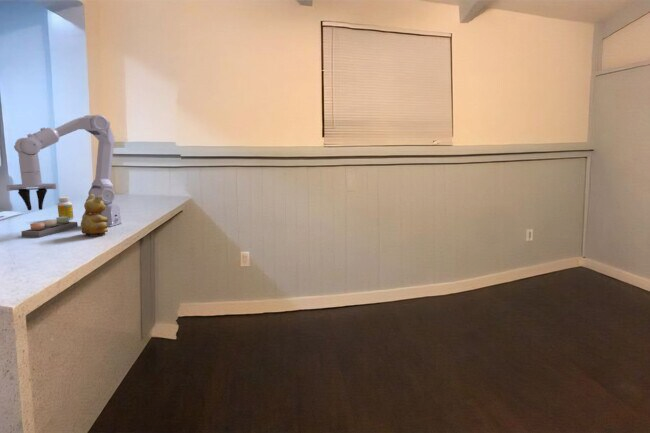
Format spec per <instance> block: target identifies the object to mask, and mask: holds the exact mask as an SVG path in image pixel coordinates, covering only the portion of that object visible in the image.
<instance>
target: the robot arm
mask: <svg viewBox="0 0 650 433" xmlns="http://www.w3.org/2000/svg"><path fill="white" fill-rule="evenodd" d="M39 129H40V130H39V131H37V132H34V133H28V134H26V136H27V137H21V138H18V139H16V141H15V143H14V145H13V148H14V150H15V151H16V152H17V155H18V163H19V164H18V165H19V172H20V179H21V183H20V184H16V183H15V184H6V186H5V188H6V191H7V192H8V191H9V192H10V191H11V192H12V191H17V193H18V195H19V197H21V199H22V200H23V202H24V204H25V207H26V209H27V211H32V204H31V203H32V202H31V195H30V194H31V191H33V190H35V192H36V197H37V203H38V205H37V206H38V211H41V210H43V205H44V201H45V197H46V194H47V192H48V190H57V189H58V184H57V183H55V182H54V183H42V174H41V168H40V160H39V152H40V151H41V150H43V149H46V148H48V147H50V146H52V145H54V144H56V143H58V142H59V140H60V138H61V137H63V136H66V135H68V134H71V133H73V132H75V131H78V130H85V131H86V132H88V133H90V134H91V135H93V137H95V139H97V141H98V146H97V157H96V165H95V166H96V167H95V177H94V178H95V179H93V181H92V183H91V187H90V188H89V191H88V194H87V195H88V196H89V195H91V194H94V196H95V198H96V197H97V196H99V195H101V196H102V198H101V201H103V202H104V205H105V207H106V208H105V210H104V211H103V212H101V213H102V215H103V216H104V217H107V219H108V221H107V228H109V227H114V226H116V225H120V224H123V221H122V218H121V217H122V216H121V208H120V206H119V205H118V204H116V203H113V201H114V200H115V198H116V195H115V191H114V183H112V182H111V176H112V165H113V155H114V144H115V143H114V142H115V136H114V134H113V131H112V128H111V121H109V119H107V117H105V116H104V115H103V114H102V115H101V114H95V115H93V114H92V115H84V116H82V117H81V116H80V117H77V118H75V119H72V120H70V121H69V122H66V123H64V124H61V125H60V126H57V127H55V128H51V127H40V128H39Z"/></svg>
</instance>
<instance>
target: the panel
mask: <svg viewBox="0 0 650 433" xmlns="http://www.w3.org/2000/svg"><path fill="white" fill-rule="evenodd" d="M75 227H76V228H78V227H79V225H78V221H69V222H68V223H62V224H58V223H57V226H51V227H45V226H44V229H41V230H31V228H30V229H29V228H28V229H26V230H25V229H24V230H21V231H20V232H21V237H22V238H43V237H46V236H49V235H53V234H57V233H58V234H59V233H60V232H64V231H68V230H72V229H75Z"/></svg>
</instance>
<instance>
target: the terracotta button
mask: <svg viewBox="0 0 650 433" xmlns="http://www.w3.org/2000/svg"><path fill="white" fill-rule="evenodd" d="M29 225H30V226H29V227H30V229H31V230H41V229H44V222H32V223H30V224H29Z"/></svg>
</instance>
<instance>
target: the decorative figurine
mask: <svg viewBox="0 0 650 433" xmlns="http://www.w3.org/2000/svg"><path fill="white" fill-rule="evenodd" d="M101 198H102V196H101V195H99V196H97V197H96V198H95V196H94V194H91V195H88V196H87V198H86V200H85V203H84V206H83V207H84V213H83V215H81V216H82V217H81V222H80V230H81V233H82V234H84V235H85V236H87V237H88V236H89V237H98V236H99V237H100V236H104V235H106V233H107V232H108V231H109V230H108V226H107V221H108V219H107V217H104V216H103V215H102V213H101V212H103V211H104V210H105V208H106V207H105V205H104V202H103V201H101Z"/></svg>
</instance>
